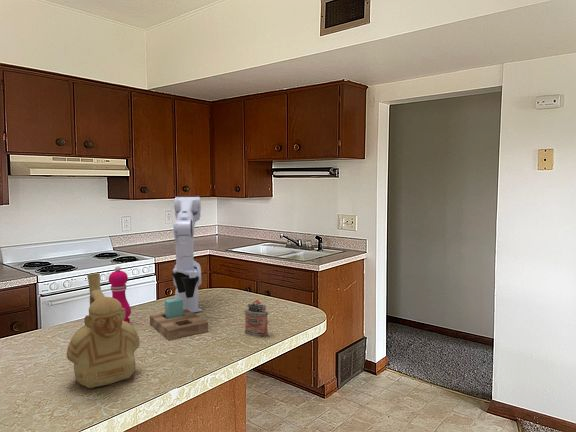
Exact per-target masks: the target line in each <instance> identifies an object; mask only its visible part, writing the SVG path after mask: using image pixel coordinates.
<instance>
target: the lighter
mask: <svg viewBox="0 0 576 432" xmlns="http://www.w3.org/2000/svg"><path fill="white" fill-rule="evenodd" d="M266 306H267V305H266V304H265V303H261V304H258V303H257V302H255V303H253V302H248V303H247V307H248V308H246V309H244V316H245V317H244V319H245V321H244V323H245V325H244V326H245V327H244V334H245V335H248V336H252V337H257V338H266V337H268V336H269V332H268V315H269V312H268V311H266ZM262 309H265V311H263V310H262Z"/></svg>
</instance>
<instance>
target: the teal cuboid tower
mask: <svg viewBox="0 0 576 432" xmlns="http://www.w3.org/2000/svg"><path fill="white" fill-rule="evenodd" d="M164 313H165V319H170V318H175V317H180V316H183V300H182V299H180V298H175V297H174V298H169V299H165V300H164Z"/></svg>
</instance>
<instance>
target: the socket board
mask: <svg viewBox="0 0 576 432" xmlns="http://www.w3.org/2000/svg"><path fill="white" fill-rule="evenodd" d="M149 325H150V326H152V327H153V328H154V329H155V331H157V332H159V334H161V335H162V336H163V337H164V338H166V339H167V340H168V341H170V340H176V339H179V338H186V337H189V336H194V335H198V334H203V333H207V332H209V323H208V321H207V320H205V319H203V318H202V317H201V316H198V315H196V314H195V312H194V313H192V312H191V311H189V310H187V309H183V316H180V317H175V318H170V319H165V312H162V313H155V314H149Z"/></svg>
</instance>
